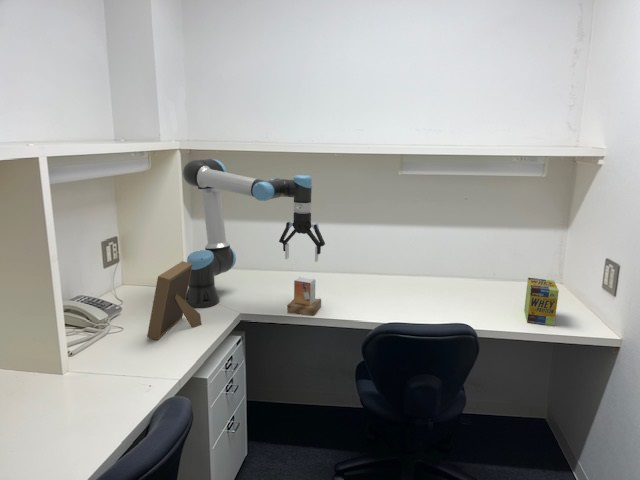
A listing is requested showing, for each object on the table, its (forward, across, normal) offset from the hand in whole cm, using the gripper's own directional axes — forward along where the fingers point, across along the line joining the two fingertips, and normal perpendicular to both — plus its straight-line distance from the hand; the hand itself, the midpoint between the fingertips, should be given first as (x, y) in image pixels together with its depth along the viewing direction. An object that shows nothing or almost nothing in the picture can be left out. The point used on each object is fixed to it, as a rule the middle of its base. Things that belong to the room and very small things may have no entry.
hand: (301, 259), depth 198 cm
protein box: (+21, +101, +18) cm, 105 cm away
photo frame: (+23, -39, -36) cm, 58 cm away
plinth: (+23, +2, -2) cm, 23 cm away
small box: (+19, +2, -2) cm, 19 cm away
